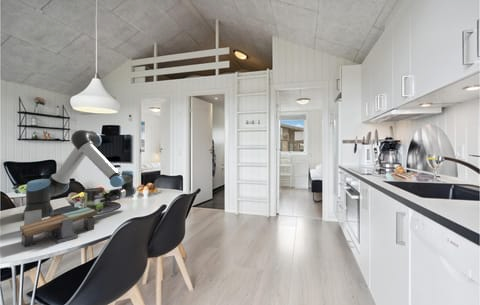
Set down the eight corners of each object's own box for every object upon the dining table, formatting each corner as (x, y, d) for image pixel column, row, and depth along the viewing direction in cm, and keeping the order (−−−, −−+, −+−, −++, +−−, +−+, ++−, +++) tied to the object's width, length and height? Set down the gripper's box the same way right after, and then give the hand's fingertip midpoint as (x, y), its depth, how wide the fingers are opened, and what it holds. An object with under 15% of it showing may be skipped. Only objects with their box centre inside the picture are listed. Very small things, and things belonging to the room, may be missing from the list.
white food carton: (41, 228, 122) (41, 210, 122) (24, 231, 117) (24, 212, 117) (40, 226, 125) (40, 209, 124) (24, 229, 120) (24, 211, 119)
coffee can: (107, 210, 138) (107, 188, 138) (93, 215, 128) (93, 191, 128) (93, 209, 140) (94, 187, 140) (78, 213, 130) (79, 190, 130)
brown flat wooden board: (20, 230, 105) (19, 226, 105) (86, 209, 127) (86, 206, 127) (27, 238, 96) (26, 233, 96) (97, 214, 119) (97, 210, 118)
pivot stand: (18, 239, 106) (18, 219, 106) (84, 224, 129) (85, 207, 129) (28, 251, 95) (28, 228, 94) (99, 232, 117) (99, 213, 117)
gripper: (130, 201, 149) (102, 209, 127) (103, 198, 154) (72, 206, 133) (130, 190, 149) (103, 196, 127) (103, 187, 154) (72, 193, 133)
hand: (87, 201), depth 130 cm, fingers closed on coffee can, 10 cm apart
